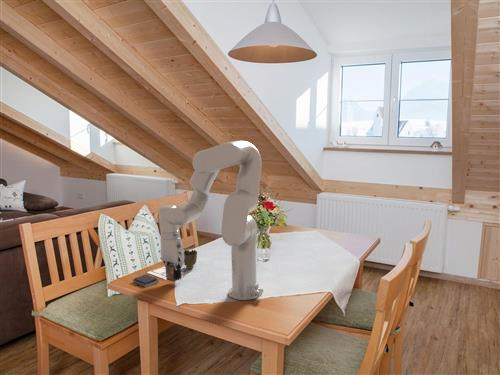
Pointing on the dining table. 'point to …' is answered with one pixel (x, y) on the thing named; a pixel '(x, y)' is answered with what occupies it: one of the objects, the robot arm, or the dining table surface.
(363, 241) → the dining table surface
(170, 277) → the stamp
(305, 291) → the dining table surface
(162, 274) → the sheet
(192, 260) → the carved brown lampshade
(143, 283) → the ink pad
